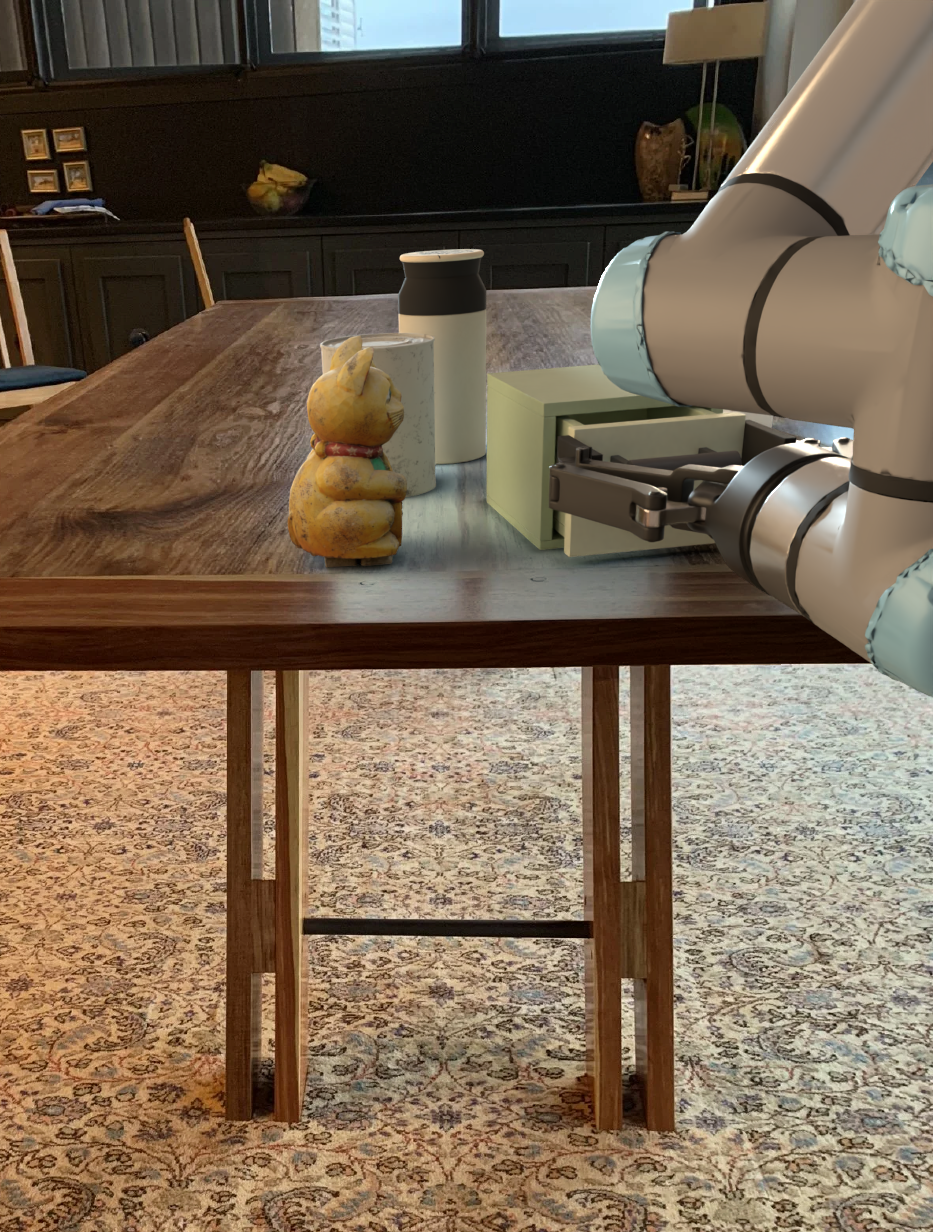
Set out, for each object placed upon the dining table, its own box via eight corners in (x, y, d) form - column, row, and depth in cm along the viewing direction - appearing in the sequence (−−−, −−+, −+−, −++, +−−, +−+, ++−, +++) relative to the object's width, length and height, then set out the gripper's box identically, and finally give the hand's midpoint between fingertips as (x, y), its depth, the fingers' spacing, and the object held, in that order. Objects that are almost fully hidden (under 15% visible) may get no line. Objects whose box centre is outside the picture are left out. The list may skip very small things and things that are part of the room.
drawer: (765, 560, 78) (781, 427, 74) (593, 578, 77) (599, 443, 73) (657, 496, 94) (665, 384, 90) (513, 509, 93) (515, 397, 89)
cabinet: (711, 537, 87) (725, 388, 82) (539, 553, 85) (543, 403, 80) (636, 491, 100) (644, 360, 95) (486, 505, 98) (487, 373, 94)
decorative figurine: (421, 574, 83) (416, 343, 76) (304, 588, 81) (288, 354, 74) (386, 538, 91) (379, 327, 84) (279, 550, 90) (263, 337, 83)
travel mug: (458, 446, 120) (457, 248, 111) (501, 459, 113) (504, 250, 105) (387, 457, 117) (381, 255, 108) (428, 471, 110) (424, 257, 102)
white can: (430, 502, 100) (428, 346, 94) (318, 503, 102) (309, 350, 96) (442, 476, 108) (440, 331, 103) (338, 477, 110) (331, 335, 104)
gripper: (582, 626, 61) (476, 521, 80) (1021, 581, 63) (816, 489, 82) (589, 477, 57) (476, 404, 76) (1054, 435, 60) (832, 375, 79)
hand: (652, 448), depth 79 cm, fingers closed on drawer, 12 cm apart
